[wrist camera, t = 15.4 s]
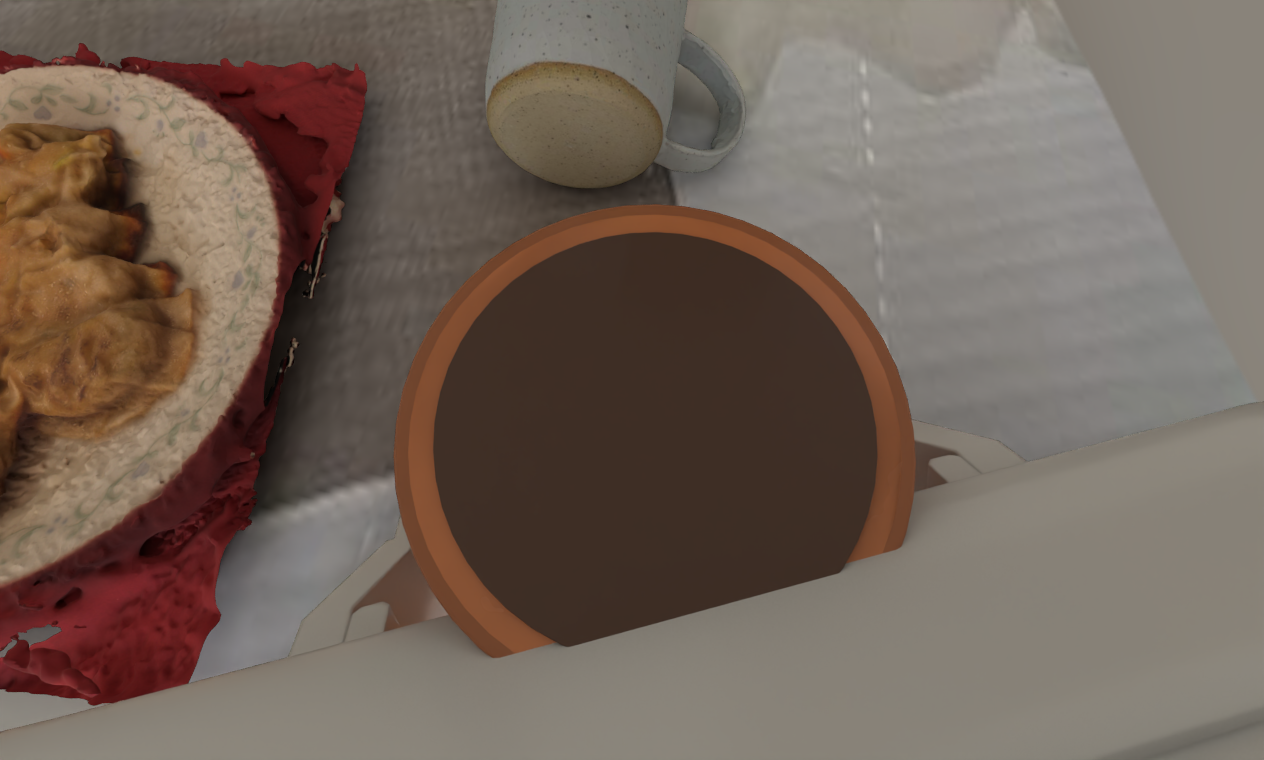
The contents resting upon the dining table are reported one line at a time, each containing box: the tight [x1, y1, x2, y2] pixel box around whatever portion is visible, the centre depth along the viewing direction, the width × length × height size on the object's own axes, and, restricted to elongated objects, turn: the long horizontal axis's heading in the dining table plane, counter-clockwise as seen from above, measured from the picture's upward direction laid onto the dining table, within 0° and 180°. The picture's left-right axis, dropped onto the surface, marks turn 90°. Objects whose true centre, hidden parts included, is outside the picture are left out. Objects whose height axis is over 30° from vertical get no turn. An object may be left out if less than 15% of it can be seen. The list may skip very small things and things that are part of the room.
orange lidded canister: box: [394, 204, 916, 658], centre depth 14 cm, size 7×7×12 cm
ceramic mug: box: [485, 0, 746, 188], centre depth 25 cm, size 11×8×8 cm
